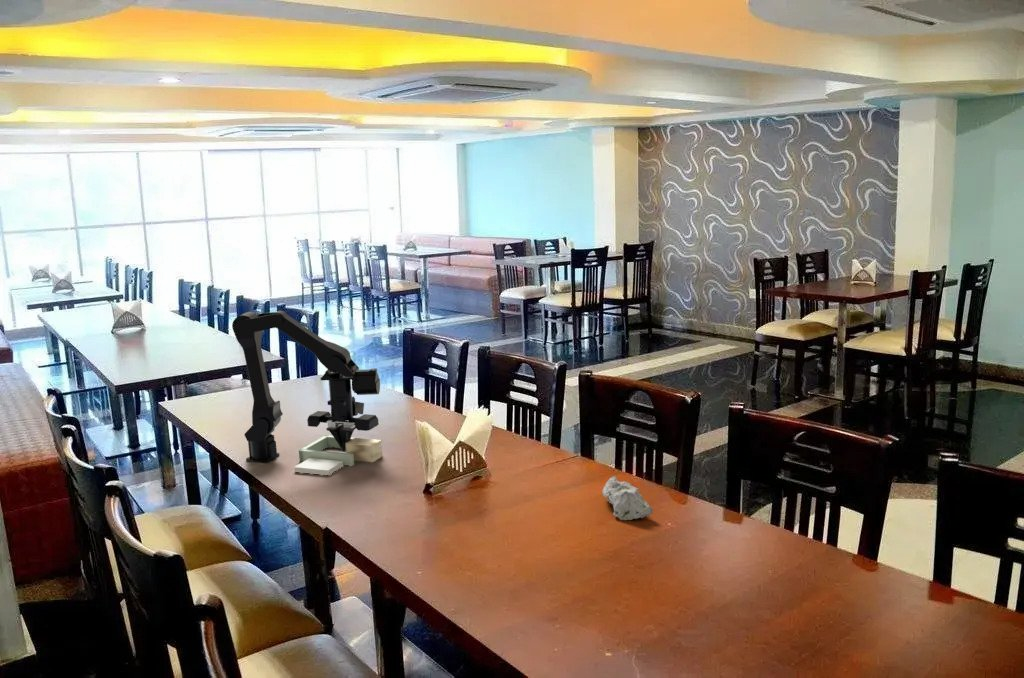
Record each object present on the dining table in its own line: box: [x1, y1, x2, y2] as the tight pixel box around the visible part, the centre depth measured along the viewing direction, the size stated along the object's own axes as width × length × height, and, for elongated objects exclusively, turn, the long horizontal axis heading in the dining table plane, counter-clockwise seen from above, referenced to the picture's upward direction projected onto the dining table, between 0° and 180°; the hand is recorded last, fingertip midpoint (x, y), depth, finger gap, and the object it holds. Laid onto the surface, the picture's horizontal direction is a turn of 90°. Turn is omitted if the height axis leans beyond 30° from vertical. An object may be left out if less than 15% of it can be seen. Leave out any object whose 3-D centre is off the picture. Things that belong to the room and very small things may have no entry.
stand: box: [293, 458, 344, 476], centre depth 210 cm, size 10×7×2 cm
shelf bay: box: [298, 434, 377, 467], centre depth 220 cm, size 16×13×3 cm
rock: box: [601, 475, 654, 521], centre depth 178 cm, size 16×7×7 cm, turn 21°
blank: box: [345, 437, 383, 463], centre depth 218 cm, size 8×5×4 cm, turn 70°
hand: (345, 451), depth 220 cm, fingers closed
